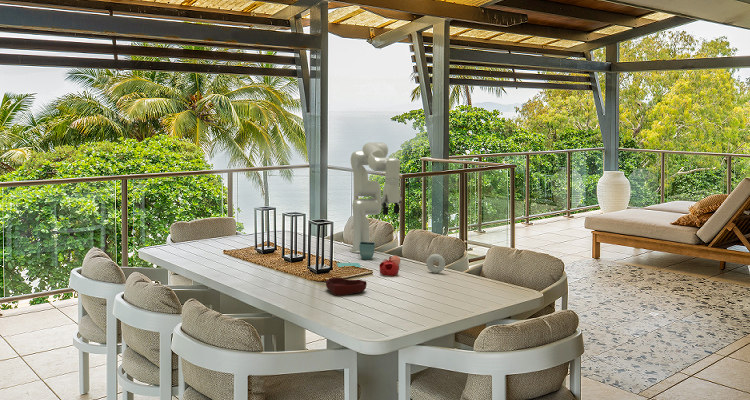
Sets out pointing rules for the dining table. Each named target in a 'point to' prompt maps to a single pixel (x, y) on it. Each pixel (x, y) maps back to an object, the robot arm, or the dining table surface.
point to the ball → (396, 259)
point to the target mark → (349, 264)
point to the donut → (440, 261)
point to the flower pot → (367, 250)
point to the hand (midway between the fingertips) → (391, 213)
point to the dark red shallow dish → (345, 286)
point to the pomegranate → (389, 268)
